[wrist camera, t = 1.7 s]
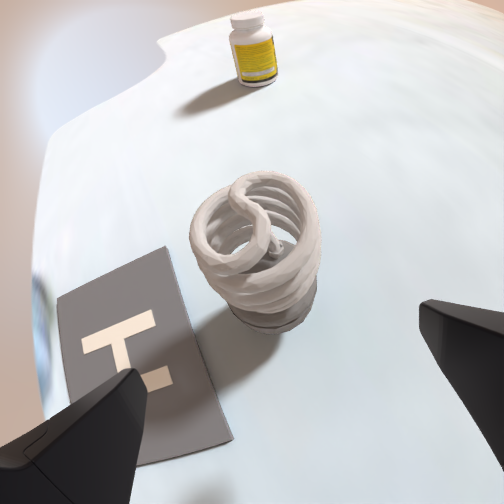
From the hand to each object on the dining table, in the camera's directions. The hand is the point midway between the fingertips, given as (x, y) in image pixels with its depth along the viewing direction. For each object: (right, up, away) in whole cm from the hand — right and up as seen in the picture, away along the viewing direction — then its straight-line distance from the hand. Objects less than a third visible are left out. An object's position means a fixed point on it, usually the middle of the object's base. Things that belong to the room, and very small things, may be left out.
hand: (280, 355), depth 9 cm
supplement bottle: (0, +26, +29) cm, 39 cm away
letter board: (-10, -5, +13) cm, 17 cm away
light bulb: (+1, -1, +13) cm, 13 cm away
